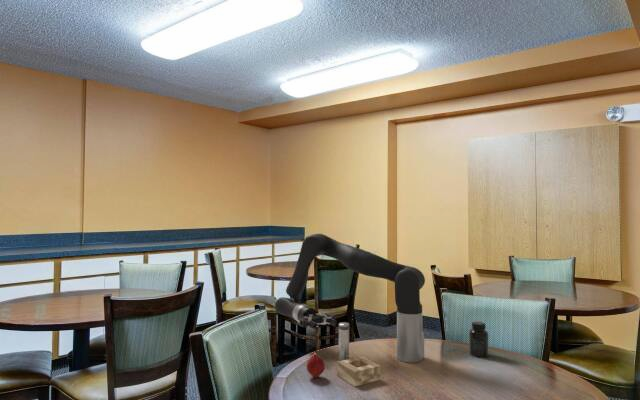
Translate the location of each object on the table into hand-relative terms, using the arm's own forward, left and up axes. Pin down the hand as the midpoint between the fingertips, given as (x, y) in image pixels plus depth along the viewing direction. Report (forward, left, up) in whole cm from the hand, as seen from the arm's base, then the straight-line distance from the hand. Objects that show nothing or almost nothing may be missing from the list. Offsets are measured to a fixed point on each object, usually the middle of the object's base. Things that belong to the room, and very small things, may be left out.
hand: (326, 324), depth 154 cm
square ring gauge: (+1, +21, -12) cm, 24 cm away
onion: (+13, +14, -12) cm, 23 cm away
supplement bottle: (-52, +26, -12) cm, 60 cm away
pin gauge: (0, +11, -12) cm, 16 cm away
